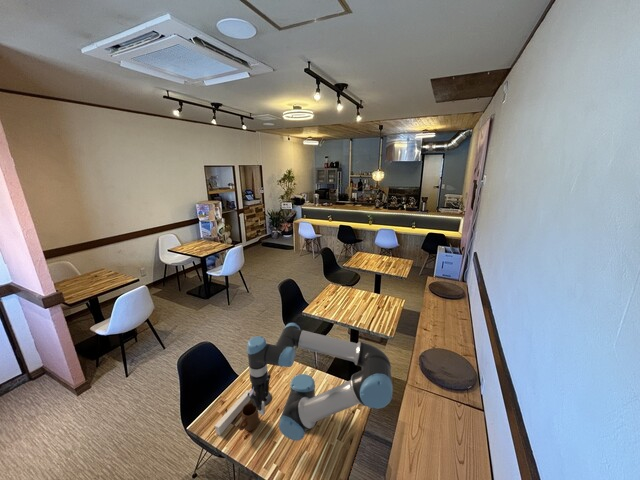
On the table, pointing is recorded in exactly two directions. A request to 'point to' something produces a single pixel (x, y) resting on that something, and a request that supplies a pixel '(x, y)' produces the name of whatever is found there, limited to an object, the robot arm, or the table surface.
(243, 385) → the table surface
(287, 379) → the table surface
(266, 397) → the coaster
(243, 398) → the board
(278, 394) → the table surface
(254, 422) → the mug
